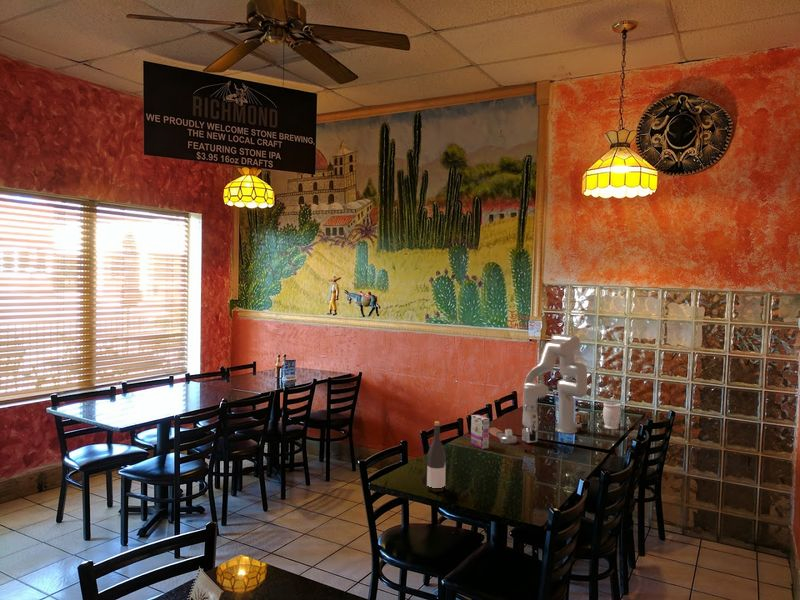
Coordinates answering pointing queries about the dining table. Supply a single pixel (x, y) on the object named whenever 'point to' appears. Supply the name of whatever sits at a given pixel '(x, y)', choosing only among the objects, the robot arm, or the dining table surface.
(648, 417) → the dining table surface
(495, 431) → the small pan
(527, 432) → the socket
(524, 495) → the dining table surface
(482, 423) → the candy bar box
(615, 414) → the jar
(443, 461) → the wine bottle
